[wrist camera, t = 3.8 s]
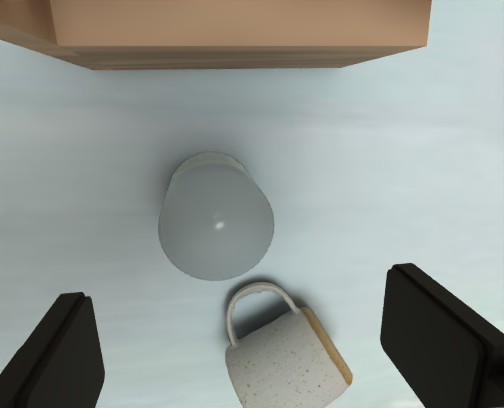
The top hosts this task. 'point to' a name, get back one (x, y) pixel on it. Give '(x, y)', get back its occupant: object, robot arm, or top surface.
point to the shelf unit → (215, 32)
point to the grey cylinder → (214, 218)
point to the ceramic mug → (285, 359)
